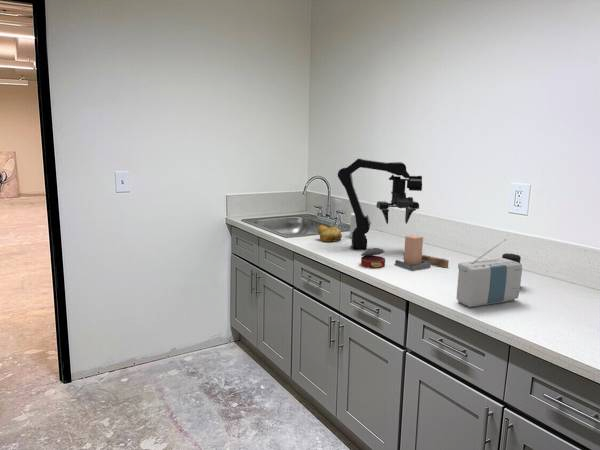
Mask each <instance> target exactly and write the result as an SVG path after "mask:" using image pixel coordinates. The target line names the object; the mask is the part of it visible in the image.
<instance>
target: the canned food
mask: <svg viewBox="0 0 600 450" xmlns="http://www.w3.org/2000/svg"><path fill="white" fill-rule="evenodd" d="M384 253H385V250H384V249H382V248H379V247H373V248H367V249H365V251H364V252H362V253H361V255H360V256H361V257H360V258H361V259H360V261H361V262H360V265H361V266H362V267H363V268H367V267H369V268H368V269H383V268H384V266H385V267H386V258H385V257H383V256H380V255H383V254H384ZM382 267H383V268H382Z"/></svg>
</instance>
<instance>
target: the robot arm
mask: <svg viewBox="0 0 600 450" xmlns="http://www.w3.org/2000/svg"><path fill="white" fill-rule="evenodd" d="M360 168H363V169H371V170H376V171H382V172H383V171H384V172H387V173H389V174H391V176H390V177H389V178H388V180H389V181H392V186H391V187H392V191H391V200H390V202H388V201H386V200H384V201H381V200H380V201H377V202H376V208H377V209H379V210H380V211H381V212H382V214H383V218H384V219H385V223H386V224H387V225H388V224H389V211H390V209H388V208H398V209H405V214H404V215H405V217H404V218H405V219H404V220H405V221H404V222H405V224H408V222H409V220H410V217H411V216H412V213H414V211H417V210H420V203H419V202H418V201H415V200H414V198H413V197H412V196H408V197H407V194H406V188H407V189H408V190H409V191H412V192H413V191H417V192H422V191H423V176H422V175H410V173H408V171H407V165H406V164H405V163H404V162H402V161H399V162H394V161H393V162H385V161H377V160H368V159H363V158H357V159H356V160H354V162H352V163H351V164H350V165H348V166H347V167H342V168H340V169H339V170H338V172H337V177H338V179H339V181H340V182H341V185H342V186H343V187H344V189H345V191H346V194H347V197H348V200H349V203H350V205H351V208H352V211H353V213H354V214H355V218H356V225H357V227H356V228H355V229H354V231H353V232H352V234H353V235H352V239H351V245H350V246H349V247H350V248H351V249H352V250H354V251H356V250H358V251H359V250H363V251H364V250H365V251H366V250H368V248H367V247H368V239H367V235H366V234H367V233H368V232H369V231H370V228H371V224H372V222H371V221H370V218H369V214H367V215H366V214H365V213H364V211H363V209H362V206H361V204H360V200H359V198H358V194H357V192H356V189H355V185H354V181H353V174H354V172H356V171H357V170H359V169H360ZM401 176H402V177H403V178H401ZM364 214H365V215H366V216H365V215H364Z"/></svg>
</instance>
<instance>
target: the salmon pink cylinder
mask: <svg viewBox="0 0 600 450" xmlns="http://www.w3.org/2000/svg"><path fill="white" fill-rule="evenodd" d="M404 237H405V238H404V251H403V255H404V259H403V262H405V263H408V264H411V265H415V264H421V260H422V255H423V245H424V244H423V242H424V237H423V236H419V235H415V234H413V235H405V236H404Z"/></svg>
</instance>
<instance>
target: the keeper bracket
mask: <svg viewBox="0 0 600 450" xmlns="http://www.w3.org/2000/svg"><path fill="white" fill-rule="evenodd" d="M393 264H394V266H397V267H400V268H404V269H406V270H408V271H419V270H423V269H424V270H426V269H430V268H431V266H432V265H431V263H430V262H427V261H424V260H421V264H415V265H411V264H408V263H405V262H404V261H401V260H400V259H399V260H398V259H395V260H394V263H393Z"/></svg>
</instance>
